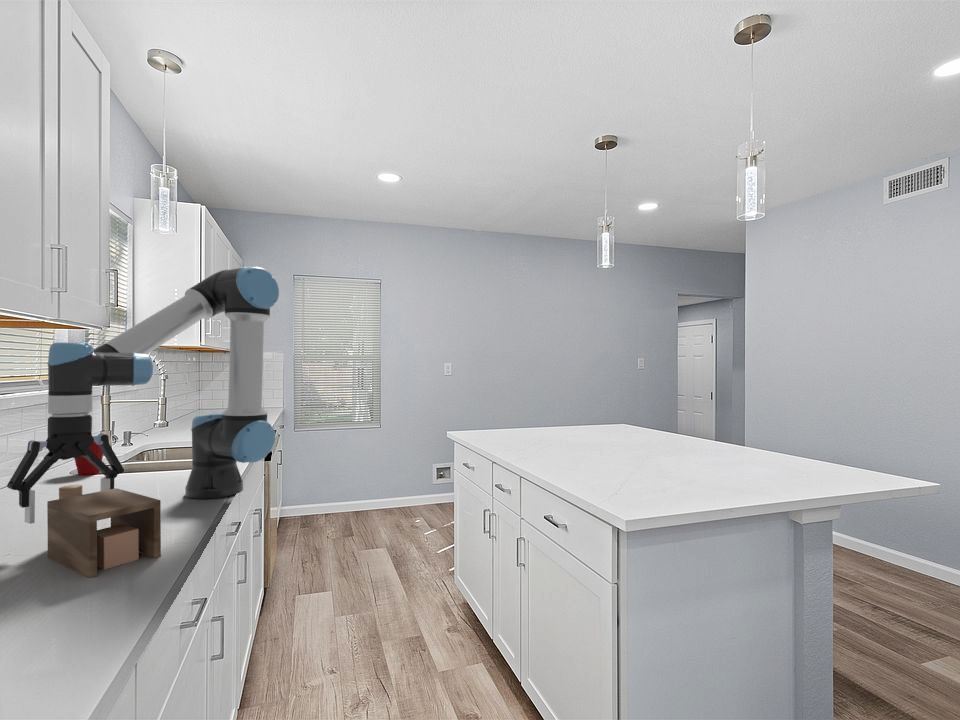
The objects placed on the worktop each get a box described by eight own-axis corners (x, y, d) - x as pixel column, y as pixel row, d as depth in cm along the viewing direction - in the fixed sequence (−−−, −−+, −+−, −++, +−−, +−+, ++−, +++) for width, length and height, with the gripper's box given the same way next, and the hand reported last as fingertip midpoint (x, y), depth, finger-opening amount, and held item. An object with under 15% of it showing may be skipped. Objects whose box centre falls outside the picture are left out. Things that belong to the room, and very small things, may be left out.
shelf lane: (116, 539, 117) (116, 488, 117) (160, 556, 107) (160, 500, 107) (47, 557, 106) (47, 501, 106) (89, 577, 97) (89, 515, 97)
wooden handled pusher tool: (83, 537, 118) (82, 482, 118) (138, 559, 106) (138, 498, 106) (50, 545, 113) (49, 488, 113) (104, 569, 101) (104, 505, 100)
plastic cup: (109, 469, 189) (109, 435, 189) (106, 475, 180) (106, 439, 180) (71, 472, 184) (71, 437, 184) (66, 478, 175) (66, 441, 175)
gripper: (125, 409, 127) (124, 499, 127) (-13, 418, 106) (-14, 526, 106) (141, 411, 123) (140, 504, 123) (1, 421, 102) (0, 533, 102)
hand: (69, 514), depth 114 cm, fingers open, 13 cm apart
